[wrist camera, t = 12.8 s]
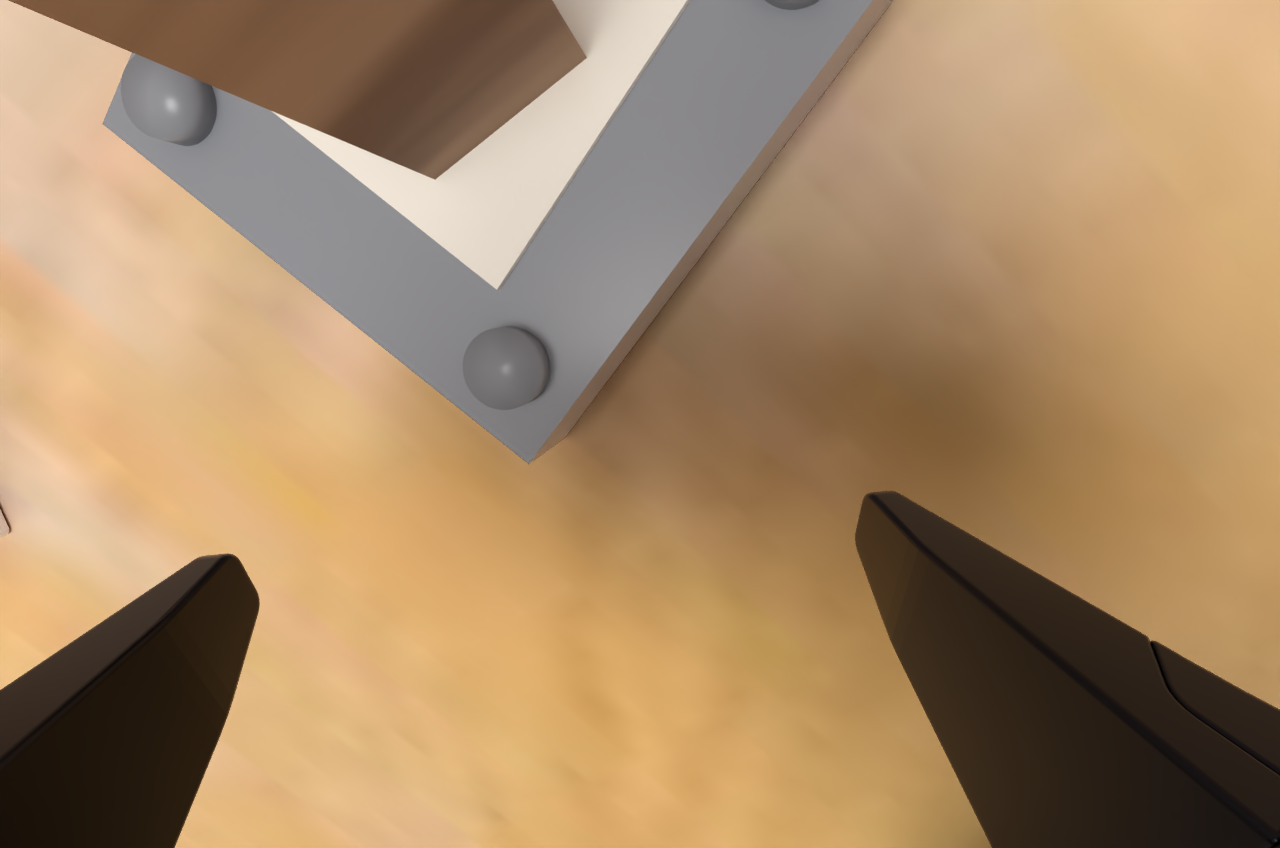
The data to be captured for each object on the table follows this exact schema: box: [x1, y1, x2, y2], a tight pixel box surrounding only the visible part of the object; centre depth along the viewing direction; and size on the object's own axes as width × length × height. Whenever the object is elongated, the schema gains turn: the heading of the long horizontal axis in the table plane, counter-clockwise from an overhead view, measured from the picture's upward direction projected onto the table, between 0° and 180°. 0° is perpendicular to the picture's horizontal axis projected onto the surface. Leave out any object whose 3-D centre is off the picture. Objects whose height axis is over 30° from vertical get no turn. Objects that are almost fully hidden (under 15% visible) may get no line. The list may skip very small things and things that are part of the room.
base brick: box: [103, 0, 892, 464], centre depth 16 cm, size 16×16×4 cm
